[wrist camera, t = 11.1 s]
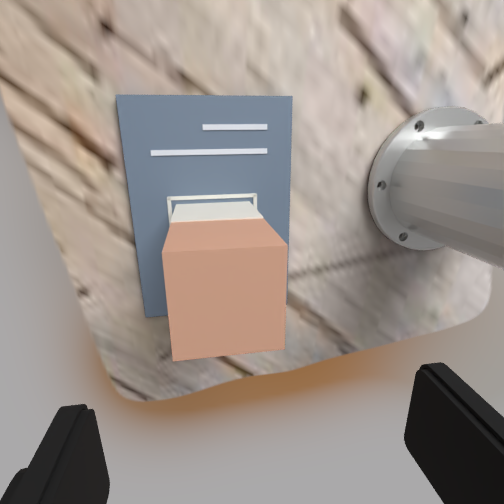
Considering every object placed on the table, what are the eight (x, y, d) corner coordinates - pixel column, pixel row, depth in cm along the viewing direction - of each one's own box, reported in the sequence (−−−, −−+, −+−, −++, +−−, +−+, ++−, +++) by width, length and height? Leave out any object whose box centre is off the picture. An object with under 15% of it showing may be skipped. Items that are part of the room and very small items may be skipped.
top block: (263, 218, 21) (287, 245, 16) (263, 299, 23) (284, 349, 18) (170, 222, 20) (161, 252, 15) (178, 306, 22) (172, 361, 17)
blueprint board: (290, 97, 25) (292, 95, 25) (285, 301, 31) (287, 304, 31) (117, 95, 23) (115, 94, 23) (146, 313, 29) (145, 318, 29)
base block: (249, 201, 27) (263, 216, 21) (250, 267, 29) (263, 298, 23) (176, 204, 26) (170, 221, 20) (181, 272, 28) (178, 305, 22)
